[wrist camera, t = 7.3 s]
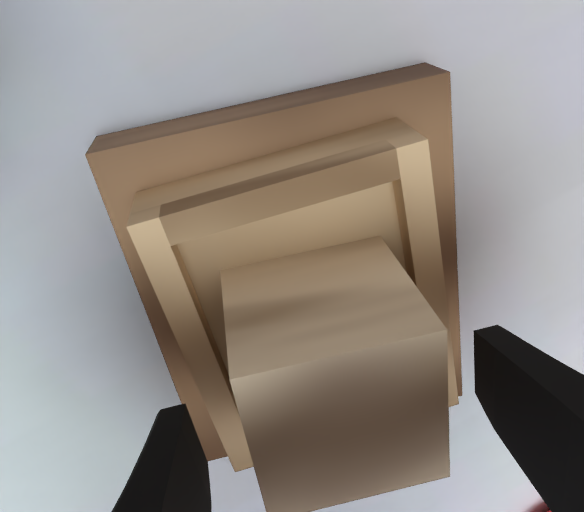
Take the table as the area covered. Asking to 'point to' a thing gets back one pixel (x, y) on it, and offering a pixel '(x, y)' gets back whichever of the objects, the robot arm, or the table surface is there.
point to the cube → (336, 375)
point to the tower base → (261, 141)
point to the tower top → (284, 237)
